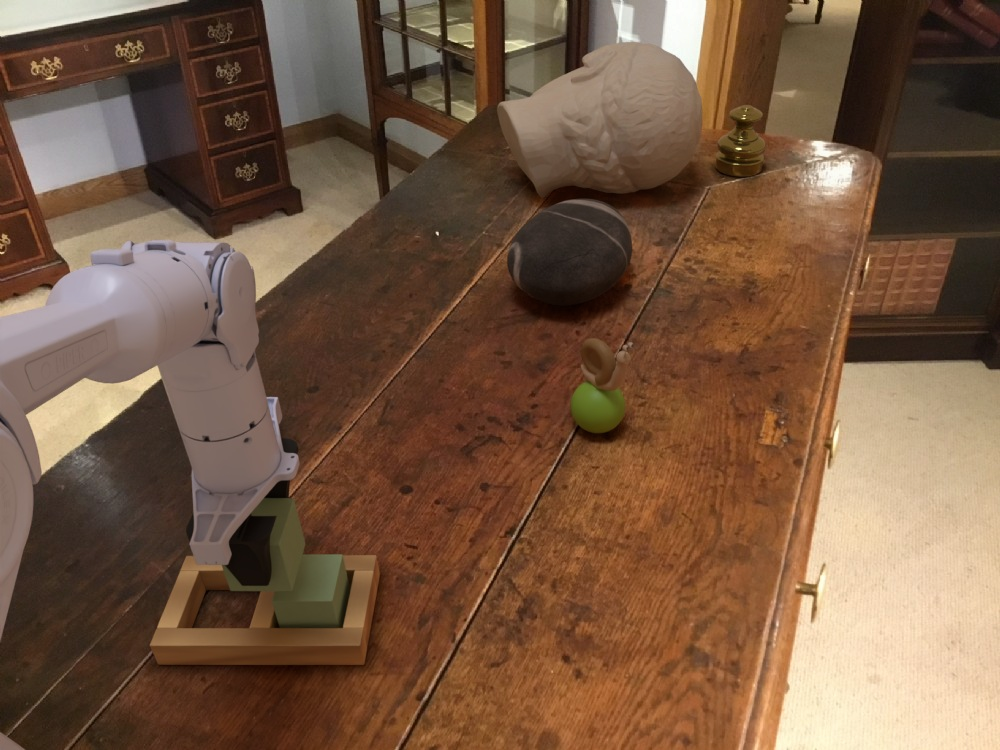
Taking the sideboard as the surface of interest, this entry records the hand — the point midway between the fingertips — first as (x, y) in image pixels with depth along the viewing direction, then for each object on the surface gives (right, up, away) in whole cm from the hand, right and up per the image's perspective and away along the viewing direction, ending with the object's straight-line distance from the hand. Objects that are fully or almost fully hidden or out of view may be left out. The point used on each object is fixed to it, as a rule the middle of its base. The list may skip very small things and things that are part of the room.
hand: (264, 554), depth 63 cm
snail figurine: (+28, +8, +23) cm, 37 cm away
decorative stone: (+27, +25, +46) cm, 58 cm away
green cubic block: (+3, -6, +6) cm, 9 cm away
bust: (+32, +43, +70) cm, 89 cm away
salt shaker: (+55, +46, +73) cm, 103 cm away
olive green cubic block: (0, -1, +1) cm, 1 cm away
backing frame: (-1, -6, +6) cm, 9 cm away
